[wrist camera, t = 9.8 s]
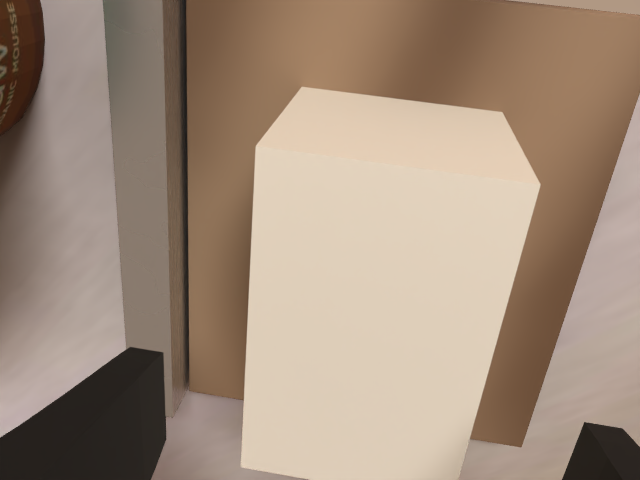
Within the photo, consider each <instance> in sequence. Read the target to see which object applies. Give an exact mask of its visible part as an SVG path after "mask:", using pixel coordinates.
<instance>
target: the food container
mask: <svg viewBox="0 0 640 480" xmlns="http://www.w3.org/2000/svg"><path fill="white" fill-rule="evenodd" d="M44 43H45V36H44V24H43V12H42V7H41V3H40V0H0V136H2V135H3V134H4V133H5V132H6V131H7V130H9V129H10V128H11V127H12V126H13V125H14V124H15V123H17V122H18V121H19V120H20V119H21V118H22V117H23V115H24V113H25V111H26V109H27V107H28V105H29V103H30V101H31V99H32V97H33V95H34V93H35V91H36V89H37V87H38V83H39V79H40V75H41V71H42V66H43V57H44Z"/></svg>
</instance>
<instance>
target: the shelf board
mask: <svg viewBox="0 0 640 480" xmlns="http://www.w3.org/2000/svg"><path fill="white" fill-rule="evenodd" d="M186 25H187V146H188V266H189V387H190V391H193V392H199V393H205V394H210V395H216V396H222V397H228V398H234V399H240V400H244V386H245V364H246V343H247V322H248V300H249V279H250V257H251V236H252V214H253V193H254V171H255V150H256V145H257V144H258V142H259V141H260V140H261V139H262V137H263V136H264V135H265V133H266V132H267V131H268V130H269V128H270V127H271V126H272V124H273V123H274V122H275V121H276V119H277V118H278V117H279V116H280V114H281V113H282V112H283V110H284V109H285V108H286V107H287V105H288V104H289V103H290V101H291V100H292V99H293V98H294V96H295V95H296V94H297V92H298V91H299V90H300V89H301V87H308V88H316V89H324V90H332V91H340V92H347V93H355V94H363V95H371V96H379V97H387V98H395V99H403V100H411V101H419V102H427V103H434V104H442V105H450V106H458V107H466V108H474V109H482V110H490V111H498V112H502V113H503V114H504V116H505V118H506V120H507V122H508V124H509V126H510V128H511V130H512V131H513V133H514V135H515V137H516V139H517V141H518V143H519V145H520V147H521V148H522V150H523V152H524V154H525V156H526V158H527V160H528V162H529V164H530V165H531V167H532V169H533V171H534V173H535V175H536V177H537V179H538V181H539V182H540V184H541V185H540V189H539V193H538V196H537V200H536V203H535V207H534V210H533V214H532V218H531V221H530V225H529V228H528V232H527V235H526V239H525V243H524V246H523V250H522V253H521V257H520V261H519V264H518V268H517V271H516V275H515V278H514V282H513V286H512V289H511V293H510V296H509V300H508V303H507V307H506V311H505V314H504V318H503V321H502V325H501V328H500V332H499V336H498V339H497V343H496V346H495V350H494V353H493V357H492V361H491V364H490V368H489V371H488V375H487V379H486V382H485V386H484V389H483V393H482V396H481V400H480V404H479V407H478V411H477V414H476V418H475V421H474V425H473V429H472V432H471V436H470V439H475V440H481V441H487V442H493V443H498V444H504V445H510V446H516V447H522V444H523V441H524V438H525V435H526V432H527V429H528V426H529V423H530V420H531V417H532V414H533V411H534V408H535V405H536V402H537V399H538V396H539V393H540V390H541V387H542V384H543V381H544V378H545V375H546V372H547V369H548V366H549V363H550V360H551V357H552V354H553V351H554V348H555V345H556V342H557V339H558V336H559V333H560V330H561V327H562V324H563V321H564V318H565V315H566V312H567V309H568V306H569V303H570V300H571V297H572V294H573V291H574V288H575V285H576V282H577V279H578V276H579V273H580V270H581V267H582V264H583V261H584V258H585V255H586V252H587V249H588V246H589V243H590V240H591V237H592V234H593V231H594V228H595V225H596V222H597V219H598V216H599V213H600V210H601V207H602V204H603V201H604V198H605V195H606V192H607V189H608V186H609V183H610V180H611V177H612V174H613V171H614V168H615V165H616V162H617V159H618V156H619V153H620V150H621V147H622V144H623V141H624V138H625V135H626V132H627V129H628V126H629V123H630V120H631V117H632V114H633V111H634V108H635V105H636V102H637V99H638V96H639V93H640V15H635V14H626V13H617V12H607V11H599V10H589V9H580V8H571V7H562V6H553V5H544V4H535V3H526V2H517V1H508V0H186Z"/></svg>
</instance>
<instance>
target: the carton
mask: <svg viewBox="0 0 640 480" xmlns="http://www.w3.org/2000/svg"><path fill="white" fill-rule="evenodd" d="M540 185H541V184H540V182H539V181H538V179H537V177H536V175H535V173H534V171H533V169H532V167H531V165H530V164H529V162H528V160H527V158H526V156H525V154H524V152H523V150H522V148H521V147H520V145H519V143H518V141H517V139H516V137H515V135H514V133H513V131H512V130H511V128H510V126H509V124H508V122H507V120H506V118H505V116H504V114H503V113H502V112H498V111H490V110H482V109H474V108H466V107H458V106H450V105H442V104H434V103H427V102H419V101H411V100H403V99H395V98H387V97H379V96H371V95H363V94H355V93H347V92H340V91H332V90H324V89H316V88H308V87H301V89H300V90H299V91H298V92H297V94H296V95H295V96H294V98H293V99H292V100H291V101H290V103H289V104H288V105H287V107H286V108H285V109H284V110H283V112H282V113H281V114H280V116H279V117H278V118H277V119H276V121H275V122H274V123H273V124H272V126H271V127H270V128H269V130H268V131H267V132H266V133H265V135H264V136H263V137H262V139H261V140H260V141H259V142H258V144H257V145H256V150H255V171H254V193H253V214H252V236H251V257H250V279H249V300H248V322H247V343H246V364H245V386H244V407H243V429H242V450H241V467H242V468H248V469H253V470H259V471H264V472H270V473H275V474H281V475H286V476H292V477H298V478H303V479H309V480H458V479H459V475H460V472H461V468H462V464H463V461H464V457H465V454H466V450H467V446H468V443H469V439H470V436H471V432H472V429H473V425H474V421H475V418H476V414H477V411H478V407H479V404H480V400H481V396H482V393H483V389H484V386H485V382H486V379H487V375H488V371H489V368H490V364H491V361H492V357H493V353H494V350H495V346H496V343H497V339H498V336H499V332H500V328H501V325H502V321H503V318H504V314H505V311H506V307H507V303H508V300H509V296H510V293H511V289H512V286H513V282H514V278H515V275H516V271H517V268H518V264H519V261H520V257H521V253H522V250H523V246H524V243H525V239H526V235H527V232H528V228H529V225H530V221H531V218H532V214H533V210H534V207H535V203H536V200H537V196H538V193H539V189H540Z"/></svg>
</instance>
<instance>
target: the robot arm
mask: <svg viewBox="0 0 640 480" xmlns="http://www.w3.org/2000/svg"><path fill="white" fill-rule="evenodd" d="M165 441H166V415H165V384H164V353H163V352H159V351H152V350H146V349H140V348H134V347H129V348H128V349H126V350H125V351H124V352H122V353H121V354H119V355H118V356H116V357H115V358H114V359H112V360H111V361H109V362H108V363H107V364H105V365H104V366H102V367H101V368H100V369H98V370H97V371H96V372H94V373H93V374H92V375H90V376H89V377H87V378H86V379H85V380H83V381H82V382H81V383H79V384H78V385H76V386H75V387H74V388H72V389H71V390H69V391H68V392H67V393H65V394H64V395H63V396H61V397H60V398H58V399H57V400H55V401H54V402H52V403H51V404H50V405H48V406H47V407H45V408H44V409H42V410H41V411H40V412H38V413H37V414H35V415H34V416H32V417H31V418H30V419H28V420H27V421H25V422H24V423H22V424H21V425H19V426H18V427H16V428H15V429H13V430H11V431H10V432H8V433H7V434H5V435H4V436H2V437H1V438H0V480H151V478H152V475H153V473H154V470H155V468H156V465H157V462H158V460H159V457H160V454H161V452H162V449H163V446H164V444H165ZM562 480H640V447H639V446H638V445H637V444H636V443H635V441H634V440H633V439H632V438H631V437H630V436H629V435H628V434H627V433H626V432H625V431H624V430H623V429H622V428H616V427H610V426H604V425H598V424H592V423H586V422H584V425H583V427H582V430H581V433H580V435H579V438H578V440H577V443H576V445H575V448H574V451H573V453H572V456H571V458H570V461H569V463H568V466H567V469H566V471H565V474H564V476H563V479H562Z"/></svg>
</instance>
